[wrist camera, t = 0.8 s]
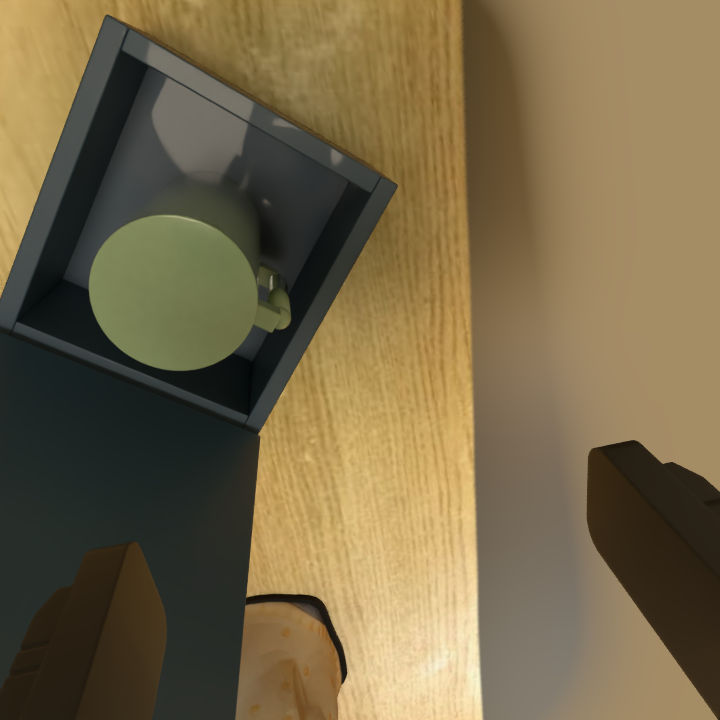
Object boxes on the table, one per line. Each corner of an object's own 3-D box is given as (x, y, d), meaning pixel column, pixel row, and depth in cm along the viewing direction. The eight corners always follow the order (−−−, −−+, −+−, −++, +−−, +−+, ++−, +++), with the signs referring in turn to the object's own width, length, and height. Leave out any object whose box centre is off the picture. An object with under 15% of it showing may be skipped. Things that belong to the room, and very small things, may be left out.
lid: (-336, 627, 11) (-338, 652, 12) (233, 750, 15) (220, 767, 15) (-15, 325, 23) (-20, 342, 23) (261, 435, 27) (253, 448, 27)
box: (144, 31, 26) (105, 13, 20) (371, 166, 30) (398, 185, 24) (46, 280, 30) (-12, 329, 24) (259, 373, 33) (257, 437, 27)
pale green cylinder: (177, 149, 27) (125, 182, 17) (308, 219, 30) (328, 284, 20) (134, 248, 29) (63, 331, 19) (261, 309, 31) (258, 411, 21)
